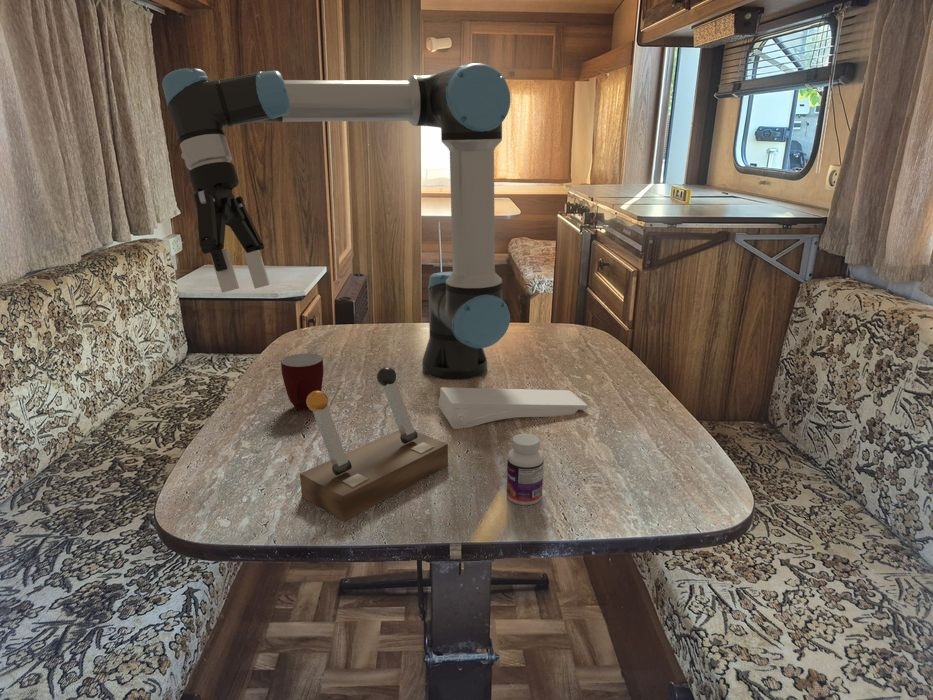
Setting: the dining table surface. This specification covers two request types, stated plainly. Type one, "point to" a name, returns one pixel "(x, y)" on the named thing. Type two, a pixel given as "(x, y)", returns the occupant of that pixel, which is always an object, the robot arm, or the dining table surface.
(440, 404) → the wall bracket
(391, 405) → the black knob lever
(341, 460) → the orange knob lever
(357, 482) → the switch box
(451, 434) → the dining table surface
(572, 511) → the dining table surface
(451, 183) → the robot arm
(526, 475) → the pill bottle
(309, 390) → the mug
